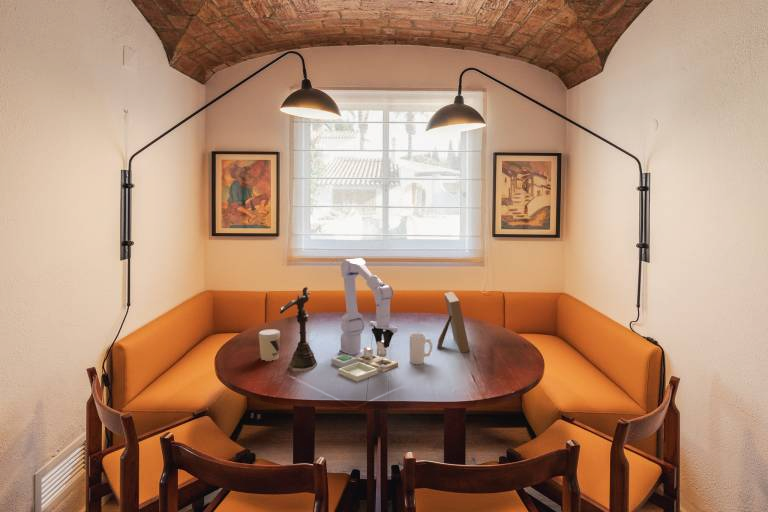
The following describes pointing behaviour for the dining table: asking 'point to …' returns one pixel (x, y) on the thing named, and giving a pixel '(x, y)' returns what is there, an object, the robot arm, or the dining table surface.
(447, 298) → the photo frame
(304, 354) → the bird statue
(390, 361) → the cream parts tray
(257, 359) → the dining table surface
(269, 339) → the coffee cup
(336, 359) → the button housing
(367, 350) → the billet
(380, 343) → the billet
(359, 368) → the tray
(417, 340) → the mug
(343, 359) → the button
